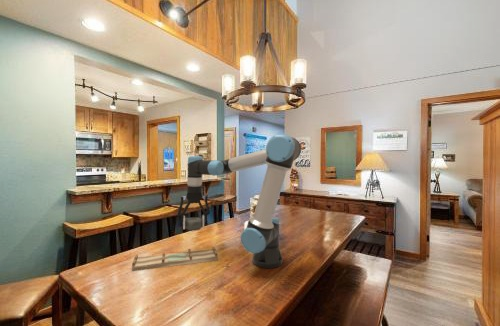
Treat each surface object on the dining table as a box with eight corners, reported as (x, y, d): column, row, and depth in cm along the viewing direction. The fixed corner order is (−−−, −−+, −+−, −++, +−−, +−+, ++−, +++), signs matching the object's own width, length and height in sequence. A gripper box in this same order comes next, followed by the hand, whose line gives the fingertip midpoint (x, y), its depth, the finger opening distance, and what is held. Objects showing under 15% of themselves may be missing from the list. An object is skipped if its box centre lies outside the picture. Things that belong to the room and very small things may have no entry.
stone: (196, 224, 134) (199, 210, 130) (201, 235, 127) (205, 221, 123) (180, 227, 129) (183, 212, 125) (185, 238, 122) (188, 223, 118)
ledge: (217, 260, 122) (217, 253, 122) (132, 271, 109) (132, 263, 109) (214, 252, 132) (214, 246, 132) (135, 261, 120) (135, 254, 120)
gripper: (214, 184, 130) (213, 225, 131) (172, 184, 124) (172, 227, 124) (216, 186, 123) (215, 228, 123) (172, 186, 117) (171, 231, 117)
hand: (193, 228), depth 124 cm, fingers closed on stone, 9 cm apart
